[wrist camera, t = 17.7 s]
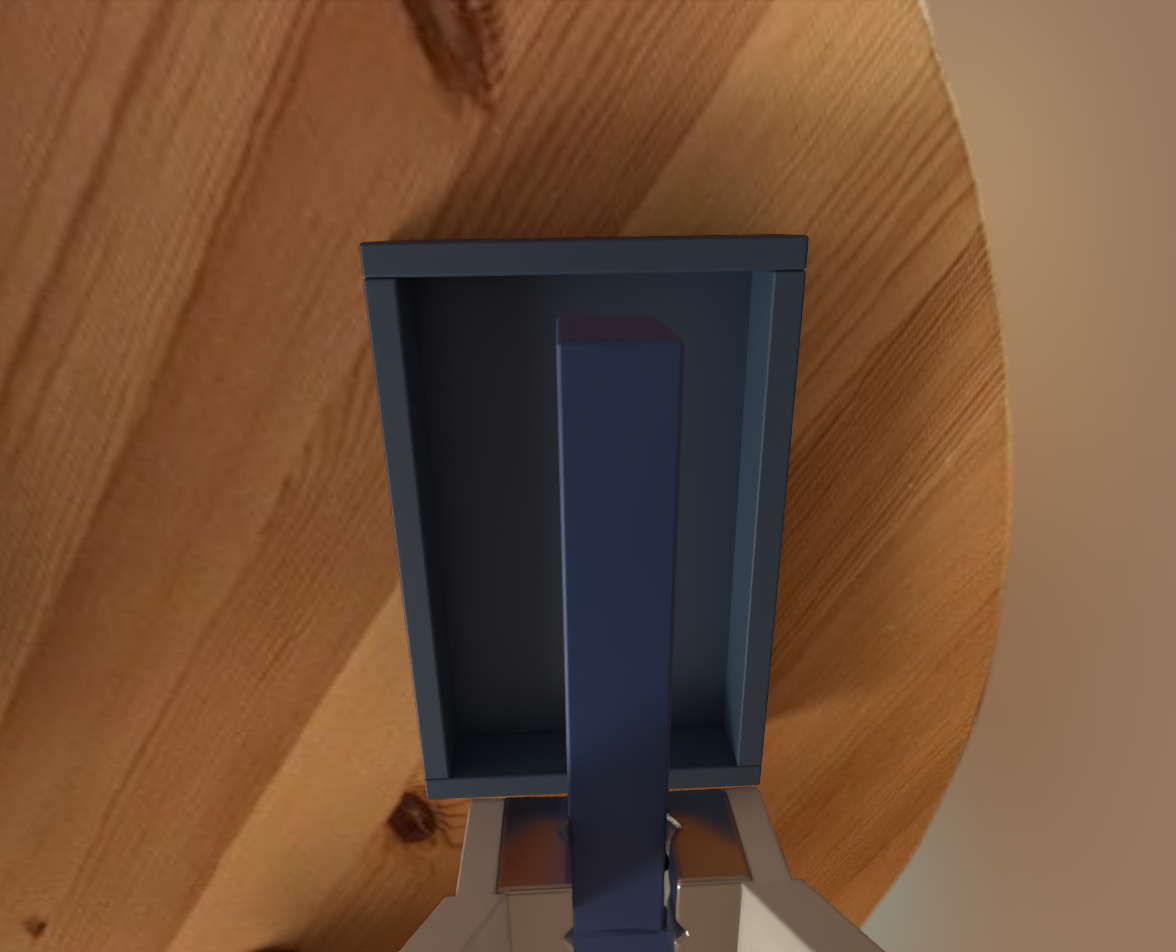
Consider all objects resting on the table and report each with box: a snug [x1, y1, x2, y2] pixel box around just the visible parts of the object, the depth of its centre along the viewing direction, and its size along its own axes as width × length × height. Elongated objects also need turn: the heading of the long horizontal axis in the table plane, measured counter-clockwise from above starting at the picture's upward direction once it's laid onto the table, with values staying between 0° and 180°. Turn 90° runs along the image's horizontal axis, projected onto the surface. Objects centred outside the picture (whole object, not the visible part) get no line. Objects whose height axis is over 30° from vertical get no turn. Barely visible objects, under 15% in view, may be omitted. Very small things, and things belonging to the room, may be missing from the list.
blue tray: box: [359, 234, 809, 799], centre depth 20 cm, size 17×11×2 cm, turn 1°
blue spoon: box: [556, 314, 685, 952], centre depth 11 cm, size 13×4×2 cm, turn 1°
